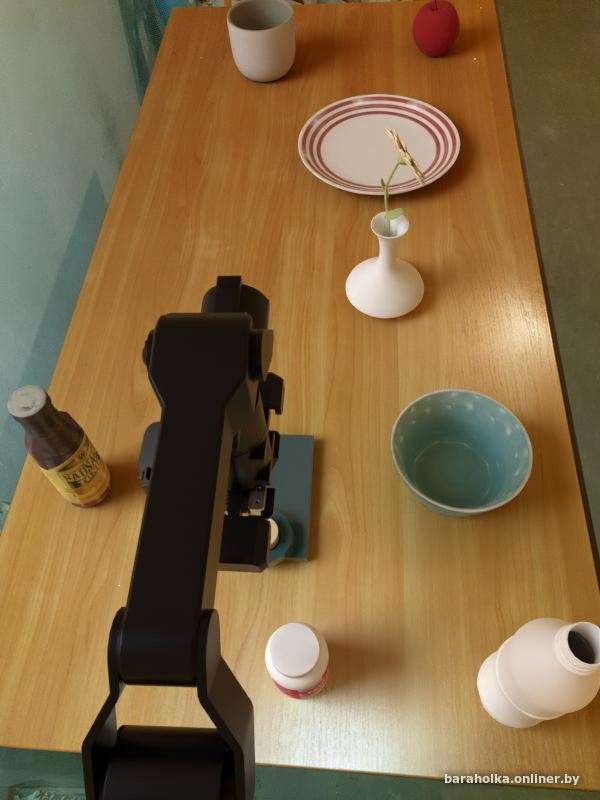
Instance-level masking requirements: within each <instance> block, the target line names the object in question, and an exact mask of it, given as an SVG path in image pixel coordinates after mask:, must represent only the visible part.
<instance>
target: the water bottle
mask: <svg viewBox="0 0 600 800" xmlns="http://www.w3.org/2000/svg"><path fill="white" fill-rule="evenodd" d="M476 687H477V692H478V695H479V699H480V703H481V705H482V707H483V708H484V710H485V711H486V713H488V715H489V716H490V717H491V718H493V719H494V720H495V721H496V722H497V723H499V724H501V725H503V726H506V727H510V728H515V729H527V728H531V727H534V726H536V725H539V724H540V723H542V722H543V721H551V720H555V719H557V718H561V717H562V716H564V715H565V714H570V713H571V714H572V713H574V712H577V711H579V710H582V709H583V708H584V707H586V706H588V705H589V704H590V703H591V702H592V701H593V700H594V698H595V697H596V696H597V695H598V692H599V690H600V627H599V626H597V625H596V624H594V623H592V622H588V621H578V622H574V623H571V622H569V621H568V620H564V619H562V618H557V617H540V618H536V619H533V620H530V621H528V622H526V623H524V624H523V625H522V626H521V627H519V628H518V629H517V630H516V631H515V633H514V634H513V635H511V636H510V637H508V638H506V640H505V641H504V642H503V643H502V644H501V645H500V646H499V648H498V649H497V650H496V651H494V652H492V653H491V654H489V655H488V657H486V659H485V660H484V661H483V663H482V664H481V666H480V668H479V670H478V674H477V678H476Z"/></svg>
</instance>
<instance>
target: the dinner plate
mask: <svg viewBox="0 0 600 800" xmlns="http://www.w3.org/2000/svg"><path fill="white" fill-rule="evenodd" d="M389 127H390V128H391V129H392V132H393V134H394V130H393V129H394V128H395V130H396V132H397V134H398V136H399V139H400V141H404V143H405V145H406V147H407V151H408V153H409V154H410V156H411V157H412V158H413V159H414V160H415V161H416V162H417V163H418V165H419V167H417V168H418V169H419V170H420V171H421V172H422V173H423V175H424V176H425V177H426V179H423V178H422V177H421V176H420V177H421V178H422V179H423V180H424V182H425V183H426V184H424V183H423V184H424V186H422V185H421V184H420V183H419V182H418V181H417V179H416V178H415V177H414V175H413V174H412V173H411V171H410V170H409V168H408V167H407V165H400V164H399V166H398V167H397V169H396V171H395V173H394V174H393V176H392V178H391V180H390V183H389V185H388V188H387V189H388V193H389V196H391V195H398V194H404V193H409V192H411V191H412V192H413V191H415V190H419V189H421V188H423V187H426V186H428V185H430V184H431V183H433V182H435V181H437V180H438V179H440V178H441V177H442V176H444V175H445V174H446V173H447V172H448V171H449V170H450V169H451V168H452V167H453V165H454V164H455V162H456V161H457V159H458V156H459V154H460V150H461V149H460V148H461V138H460V134H459V131H458V129H457V127H456V125H455V124H454V123H453V121H452V120H451V118H449V117H448V116H447V115H446V114H445V113H443V112H442V111H441V110H439V109H438V108H436V107H434V106H433V105H431V104H429V103H427V102H424V101H422V100H419V99H416V98H412V97H409V96H403V95H397V94H387V93H382V94H381V93H375V94H374V93H373V94H372V93H371V94H361V95H356V96H351V97H347V98H343V99H340V100H337V101H335V102H333V103H331V104H328V105H326V106H325V107H323V108H320V110H318V111H317V112H315V113H313V115H312V116H311V117H309V119H307V121H306V122H305V123H304V125H303V127H302V128H301V130H300V133H299V135H298V142H297V149H298V154H299V157H300V159H301V161H302V163H303V164H304V167H306V169H308V171H309V172H310V173H312V174H313V176H315V177H316V178H318V179H319V180H321V181H322V182H324V183H326V184H328V185H330V186H331V187H334V188H336V189H339V190H342V191H345V192H349V193H353V194H359V195H365V196H368V195H369V196H384V191H383V189H382V186H381V178H382V179H383V181H384V183H385V185H386V183H387V180H388V178H389V176H390V174H391V172H392V170H393V169H394V167H395V165H396V163H397V162H398V160H397V159H398V156H399V153H398V151H397V149H396V148H395V146H394V144H393V143H392V141H391V139H390V137H389V134H388V132H387V128H388V129H389Z"/></svg>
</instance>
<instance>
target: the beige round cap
mask: <svg viewBox="0 0 600 800" xmlns="http://www.w3.org/2000/svg"><path fill="white" fill-rule="evenodd" d="M268 520H269V521H270V523H271V545H270V549H272V548H273V547H275V545H276V544H277V543H278V540H279V530H278V526H277V524H276V523H275V521H274V520H272V519H271V518H270V519H268Z"/></svg>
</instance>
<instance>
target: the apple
mask: <svg viewBox="0 0 600 800" xmlns="http://www.w3.org/2000/svg"><path fill="white" fill-rule="evenodd" d="M457 11H458V10H457V9H456V7H455V5H454V4H453V3H452V2H450V1H447V0H431V1H428V2H426V3H424V4H423V5H422V6H421V7H420V8H419V9H418V11H417V13H415V16H414V19H413V22H412V26H411V27H412V29H411V30H412V33H411V34H412V37H413V41H414V43H415V45H416V47H417V48H418V49H419V51H420V52H421V53H422V54H424V55H425V56H428V57H439V56H442V55H444V54H445V53H447V52H449V51H450V50H451V49H452V48H453V46H454V44H455V43H456V41H457V39H458V36H459V34H460V28H461V27H460V26H461V23H460V17H459V13H458V12H457Z"/></svg>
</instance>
